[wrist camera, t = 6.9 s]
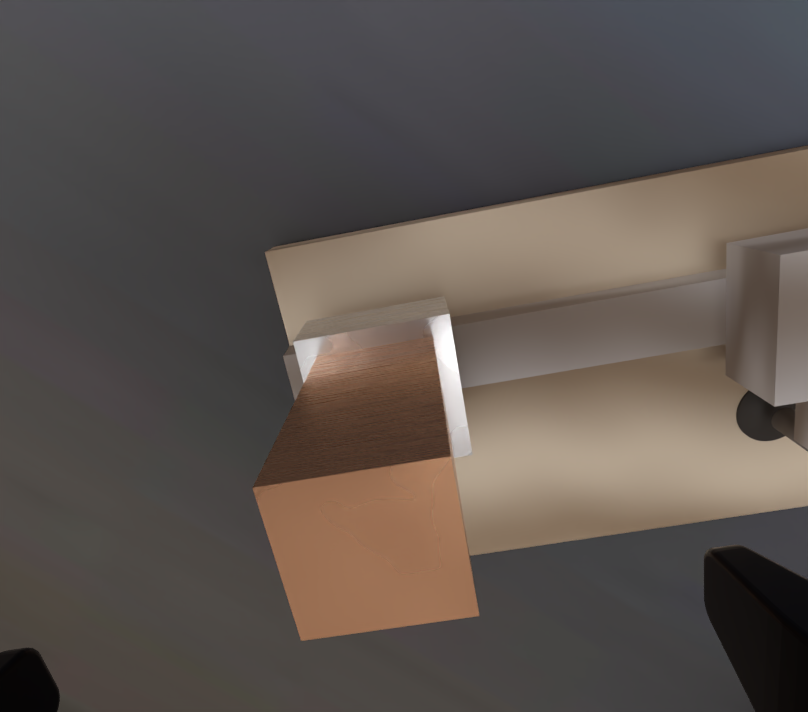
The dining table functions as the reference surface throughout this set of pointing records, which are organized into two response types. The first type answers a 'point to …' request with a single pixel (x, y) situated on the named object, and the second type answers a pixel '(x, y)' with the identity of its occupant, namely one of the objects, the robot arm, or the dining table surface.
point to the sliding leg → (372, 475)
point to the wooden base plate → (604, 344)
